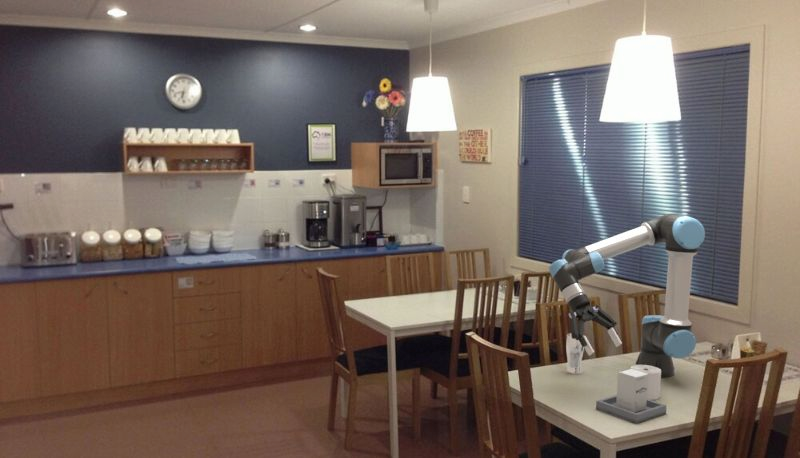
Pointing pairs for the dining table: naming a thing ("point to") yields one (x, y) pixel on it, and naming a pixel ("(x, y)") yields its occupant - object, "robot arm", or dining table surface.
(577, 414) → the dining table surface
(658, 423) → the dining table surface
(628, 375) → the supplement box
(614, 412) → the holder tray
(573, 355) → the beer glass
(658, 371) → the toilet tissue
